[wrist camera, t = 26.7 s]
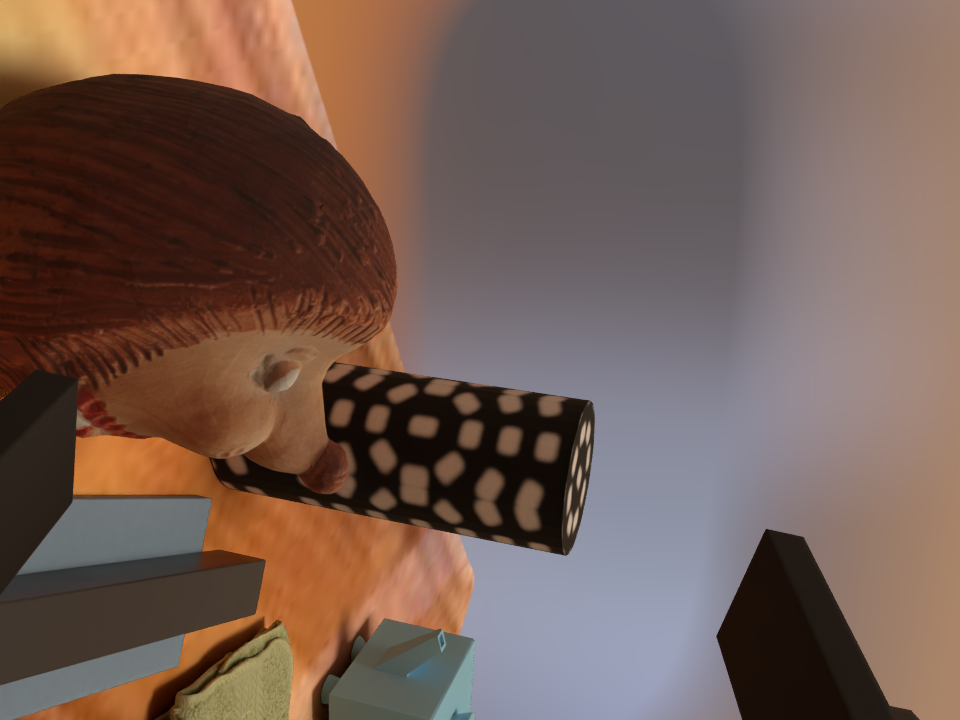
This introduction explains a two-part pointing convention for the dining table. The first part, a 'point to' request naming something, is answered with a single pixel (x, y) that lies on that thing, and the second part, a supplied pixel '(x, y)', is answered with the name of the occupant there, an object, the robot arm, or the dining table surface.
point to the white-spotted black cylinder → (447, 457)
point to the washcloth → (242, 683)
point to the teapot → (404, 676)
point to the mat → (96, 541)
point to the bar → (119, 607)
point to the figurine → (187, 266)
